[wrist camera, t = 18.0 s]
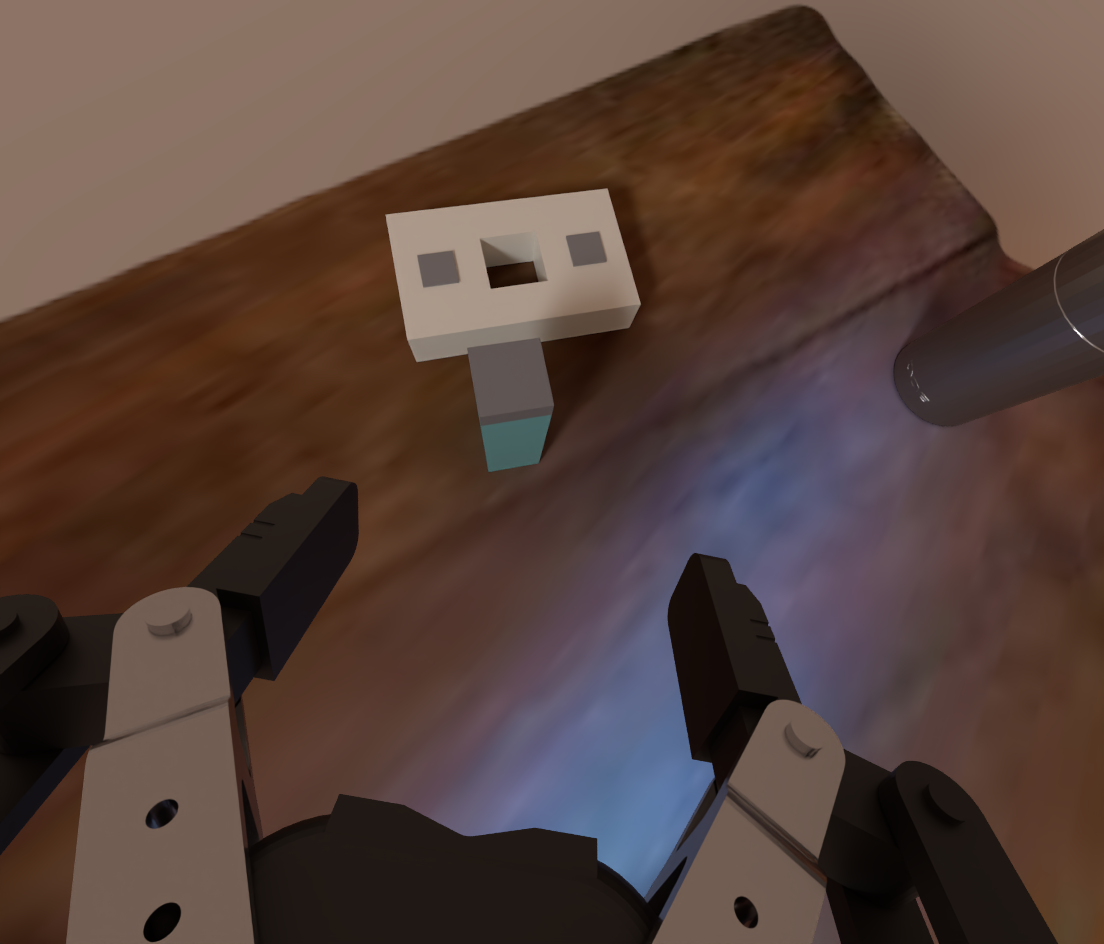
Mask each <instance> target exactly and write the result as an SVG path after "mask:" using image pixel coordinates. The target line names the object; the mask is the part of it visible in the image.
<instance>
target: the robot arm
mask: <svg viewBox="0 0 1104 944" xmlns="http://www.w3.org/2000/svg"><path fill="white" fill-rule="evenodd" d="M1102 375H1104V229H1103V230H1102V231H1100V232H1098V233H1096V234H1095V235H1093V236H1091V237H1090V238H1088V239H1086V240H1085V241H1083V242H1081V243H1080V244H1078V245H1076V246H1074V247H1073V248H1071V249H1070V250H1068V251H1066V252H1065V253H1063V254H1061V255H1060V256H1058V257H1057V258H1055V259H1053V260H1051V261H1049V262H1048V263H1046V264H1044V265H1043V266H1041V267H1039V268H1037V269H1036V270H1034V271H1032V272H1031V273H1029V274H1027V275H1026V276H1024V277H1022V278H1021V279H1019V280H1017V281H1015V282H1014V283H1012V284H1010V285H1009V286H1007V287H1005V288H1004V289H1002V290H1000V291H998V292H997V293H995V294H993V295H992V296H990V297H988V298H987V299H985V300H983V301H981V302H980V303H978V304H976V305H975V306H973V307H971V308H970V309H968V310H966V311H964V312H963V313H961V314H959V315H958V316H956V317H954V318H953V319H951V320H949V321H947V322H946V323H944V324H942V325H940V326H939V327H937V328H935V329H934V330H932V331H930V332H929V333H927V334H925V335H923V336H922V337H920V338H918V339H917V340H915V341H913V342H912V343H910V344H909V345H907V346H906V347H905V348H903V350H902V351H901V352H900V353H899V355H898V357H897V359H896V362H895V367H894V380H895V384H896V387H897V390H898V392H899V394H900V396H901V398H902V400H903V401H904V403H905V404H906V405H907V407H908V408H909V409H910V410H912V411H913V412H914V413H915V414H916V415H917V416H919V417H920V418H922V419H923V420H925V421H928V422H930V423H932V424H935V425H940V426H956V425H960V424H963V423H966V422H969V421H972V420H975V419H978V418H981V417H984V416H986V415H989V414H992V413H995V412H998V411H1001V410H1004V409H1007V408H1010V407H1013V406H1016V405H1019V404H1021V403H1024V402H1027V401H1030V400H1033V399H1036V398H1039V397H1041V396H1044V395H1047V394H1050V393H1053V392H1056V391H1059V390H1061V389H1064V388H1067V387H1070V386H1073V385H1076V384H1079V383H1082V382H1084V381H1087V380H1090V379H1093V378H1096V377H1099V376H1102ZM358 534H359V530H358V489H357V485H356V484H355V483H353V482H348V481H343V480H338V479H333V478H328V477H323V476H322V477H319V478H318V479H317V480H316V481H315V482H314V483H313V484H312V485H311V486H310V487H309V488H308V489H307V490H306V491H305V492H304V494H303V495H300V494H295V493H291V494H289V495H287V496H285V497H283V498H281V499H279V500H277V501H275V502H273V503H271V504H269V505H268V506H267V507H266V508H265V509H264V510H263V511H262V512H261V513H260V514H259V515H258V516H257V517H256V518H255V519H254V522H253V523H250V524H249V525H248V526H247V527H246V528H245V529H244V530H243V531H242V532H241V535H240V536H237V537H236V538H235V539H234V540H233V541H232V542H231V543H230V544H229V545H228V546H227V547H226V548H225V549H224V550H223V551H222V552H221V553H220V554H219V555H218V556H217V557H216V558H215V559H214V560H213V561H212V562H211V563H210V564H209V565H208V566H207V567H206V568H205V569H204V570H203V571H202V572H201V573H200V574H199V575H198V576H197V577H196V578H195V579H194V580H193V581H192V582H191V583H190V584H189V585H188V586H187V587H181V588H174V589H168V590H165V591H161V592H158V593H155V594H153V595H150V596H148V597H146V598H144V599H142V600H141V601H139V602H137V603H136V604H134V605H133V606H132V607H130V608H129V609H128V610H127V611H126V612H125V613H120V614H106V615H92V616H77V617H62V616H61V614H60V612H59V610H58V608H57V606H56V604H55V603H54V602H53V601H52V600H50V599H48V598H46V597H43V596H39V595H29V594H25V595H12V596H6V597H1V598H0V855H1V854H2V852H3V851H4V850H5V849H6V848H7V846H8V845H9V844H10V843H11V842H12V840H13V839H14V838H15V837H16V835H17V834H18V833H19V832H20V831H21V829H22V828H23V827H24V826H25V824H26V823H27V822H28V821H29V820H30V818H31V817H32V816H33V815H34V813H35V812H36V811H37V810H38V809H39V807H40V806H41V805H42V804H43V802H44V801H45V800H46V799H47V798H48V796H49V795H50V794H51V793H52V792H53V790H54V789H55V788H56V787H57V785H58V784H59V783H60V782H61V781H62V779H63V778H64V777H65V776H66V774H67V773H68V772H69V771H70V770H71V768H72V767H73V766H74V765H75V763H76V762H77V761H78V760H79V759H80V757H81V756H82V755H83V754H84V752H85V751H86V750H87V749H88V748H89V746H90V745H92V747H91V748H90V750H89V753H88V756H87V760H86V766H85V774H84V783H83V793H82V802H81V811H80V820H79V829H78V839H77V848H76V857H75V866H74V875H73V885H72V894H71V903H70V912H69V921H68V930H67V940H66V944H812V941H813V937H814V934H815V930H816V926H817V922H818V918H819V915H820V911H821V907H822V903H823V899H824V895H825V891H826V893H827V896H828V900H829V903H830V907H831V910H832V914H833V917H834V920H835V924H836V927H837V931H838V934H839V938H840V941H841V944H934V942H933V940H932V938H931V935H930V933H929V930H928V928H927V926H926V923H925V921H924V918H923V916H922V913H921V911H920V909H919V906H918V904H917V901H916V899H915V898H917V897H920V899H921V901H922V904H923V906H924V909H925V911H926V913H927V916H928V918H929V920H930V923H931V925H932V928H933V930H934V932H935V935H936V937H937V939H938V942H939V944H1058V943H1057V941H1056V939H1055V938H1054V936H1053V934H1052V932H1051V931H1050V929H1049V927H1048V926H1047V924H1046V922H1045V920H1044V919H1043V917H1042V915H1041V913H1040V912H1039V910H1038V908H1037V907H1036V905H1035V903H1034V901H1033V900H1032V898H1031V896H1030V894H1029V893H1028V891H1027V889H1026V888H1025V886H1024V884H1023V882H1022V881H1021V879H1020V877H1019V875H1018V874H1017V872H1016V870H1015V869H1014V867H1013V865H1012V863H1011V862H1010V860H1009V858H1008V856H1007V855H1006V853H1005V851H1004V850H1003V848H1002V846H1001V844H1000V843H999V841H998V839H997V837H996V836H995V834H994V832H993V831H992V829H991V827H990V825H989V824H988V822H987V820H986V818H985V817H984V815H983V813H982V812H981V810H980V809H979V807H978V806H977V805H976V803H975V802H974V801H973V799H972V798H971V797H970V796H969V795H968V794H967V793H966V792H965V791H964V790H963V789H962V788H961V787H960V786H959V785H958V784H957V783H956V782H955V781H953V780H952V779H951V778H950V777H948V776H947V775H945V774H944V773H943V772H941V771H939V770H938V769H936V768H934V767H932V766H930V765H927V764H925V763H922V762H917V761H906V762H903V763H902V764H900V765H899V766H898V767H897V768H896V769H895V770H894V771H892V772H890V771H887V770H885V769H883V768H881V767H879V766H877V765H875V764H873V763H871V762H869V761H867V760H865V759H863V758H861V757H859V756H857V755H855V754H853V753H851V752H849V751H847V750H845V749H843V747H842V745H841V742H840V741H839V739H838V737H837V735H836V734H835V732H834V731H833V730H832V728H831V727H830V726H829V725H828V724H827V723H826V722H825V721H824V720H823V719H822V718H821V717H820V716H819V715H818V714H816V713H815V712H814V711H812V710H811V709H809V708H808V707H806V706H804V705H802V703H801V701H800V698H799V696H798V694H797V691H796V689H795V686H794V684H793V681H792V679H791V676H790V674H789V672H788V669H787V667H786V664H785V662H784V659H783V657H782V654H781V652H780V649H779V647H778V645H777V643H775V637H774V635H773V632H772V630H771V627H770V626H768V623H769V622H768V620H767V618H766V615H765V613H764V610H763V608H762V605H761V603H760V602H759V601H758V600H757V598H756V597H755V596H754V595H753V594H752V592H751V591H750V590H749V589H748V588H747V586H746V585H743V584H738V583H736V580H735V577H734V575H733V572H732V569H731V566H730V564H729V562H728V561H727V560H726V559H723V558H718V557H713V556H708V555H703V554H698V553H694V554H692V555H691V557H690V558H689V560H688V562H687V565H686V567H685V569H684V571H683V573H682V575H681V577H680V579H679V582H678V584H677V586H676V588H675V590H674V592H673V594H672V597H671V599H670V603H669V608H668V626H669V632H670V637H671V643H672V649H673V654H674V660H675V665H676V671H677V677H678V682H679V688H680V693H681V699H682V705H683V710H684V716H685V722H686V727H687V733H688V738H689V744H690V750H691V755H692V759H694V760H699V761H705V762H710V763H712V765H713V770H714V775H715V777H714V778H713V780H712V781H711V783H710V784H709V786H708V788H707V789H706V791H705V793H704V795H703V797H702V799H701V800H700V802H699V804H698V806H697V808H696V810H695V811H694V813H693V815H692V817H691V819H690V820H689V822H688V824H687V826H686V828H685V830H684V831H683V833H682V835H681V837H680V839H679V841H678V842H677V844H676V846H675V848H674V850H673V851H672V853H671V855H670V857H669V859H668V860H667V862H666V864H665V865H664V867H663V868H662V870H661V872H660V873H659V875H658V876H657V878H656V879H655V881H654V882H653V884H652V885H651V887H650V889H649V890H648V892H647V894H646V895H645V897H644V898H643V897H642V896H641V895H640V894H639V893H638V891H637V890H636V889H635V888H634V887H633V886H632V885H631V884H630V883H629V882H628V881H626V880H625V879H624V878H623V877H622V876H621V875H620V874H618V873H617V872H616V871H614V870H613V869H611V868H610V867H608V866H607V865H606V864H604V863H602V862H600V861H598V860H597V838H591V837H585V836H580V835H574V834H568V833H562V832H557V831H551V830H545V829H539V828H530V829H522V830H515V831H508V832H501V833H494V834H486V835H479V836H463V835H461V834H459V833H457V832H455V831H453V830H451V829H449V828H447V827H445V826H443V825H441V824H439V823H437V822H435V821H434V820H432V819H430V818H428V817H426V816H424V815H422V814H420V813H418V812H416V811H414V810H412V809H411V808H409V807H407V806H405V805H401V804H395V803H389V802H383V801H378V800H372V799H366V798H360V797H354V796H349V795H343V794H339V796H338V799H337V801H336V803H335V806H334V808H333V811H332V813H331V814H329V815H322V816H317V817H314V818H310V819H306V820H302V821H300V822H297V823H295V824H292V825H290V826H287V827H284V828H282V829H280V830H278V831H277V832H275V833H273V834H271V835H269V836H267V837H265V838H263V832H262V826H261V820H260V814H259V809H258V804H257V799H256V793H255V786H254V779H253V772H252V764H251V757H250V750H249V742H248V735H247V727H246V720H245V712H244V705H243V699H242V693H243V692H244V691H245V689H246V688H247V686H248V685H249V683H250V682H251V680H252V679H253V677H255V678H261V679H266V680H272V681H275V679H276V677H277V676H278V674H279V673H280V671H281V670H282V668H283V666H284V665H285V663H286V662H287V660H288V659H289V657H290V655H291V654H292V652H293V651H294V649H295V648H296V646H297V644H298V643H299V641H300V640H301V638H302V637H303V635H304V633H305V632H306V630H307V629H308V627H309V626H310V624H311V622H312V621H313V619H314V618H315V616H316V615H317V613H318V611H319V610H320V608H321V607H322V605H323V604H324V602H325V600H326V599H327V597H328V596H329V594H330V593H331V591H332V589H333V588H334V586H335V585H336V583H337V581H338V580H339V578H340V577H341V575H342V574H343V572H344V570H345V569H346V567H347V566H348V564H349V563H350V561H351V559H352V557H353V555H354V553H355V550H356V546H357V542H358Z"/></svg>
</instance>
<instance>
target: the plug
mask: <svg viewBox="0 0 1104 944" xmlns="http://www.w3.org/2000/svg"><path fill="white" fill-rule="evenodd" d="M467 351H468V356H469V362H470V368H471V374H472V380H473V385H474V391H475V397H476V403H477V409H478V414H479V420H480V426H481V432H482V437H483V443H484V449H485V454H486V460H487V465H488V471H489V472H491V471H497V470H502V469H508V468H514V467H520V466H525V465H531V464H537V463H539V461H540V457H541V453H542V449H543V446H544V442H545V438H546V434H547V430H548V427H549V423H550V419H551V415H552V412H553V408H554V402H553V398H552V393H551V388H550V383H549V379H548V374H547V369H546V365H545V360H544V355H543V351H542V346H541V341H540V338H534V339H527V340H519V341H512V342H505V343H498V344H491V345H483V346H476V347H469V348H467Z"/></svg>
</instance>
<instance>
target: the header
mask: <svg viewBox="0 0 1104 944" xmlns="http://www.w3.org/2000/svg"><path fill="white" fill-rule="evenodd" d="M386 220H387V225H388V231H389V237H390V243H391V248H392V254H393V260H394V265H395V271H396V277H397V282H398V288H399V294H400V300H401V305H402V311H403V317H404V322H405V328H406V334H407V339H408V342H409V345H410V347H411V349H412V352H413V354H414V357H415V359H416V362H420V361H426V360H432V359H439V358H445V357H451V356H457V355H464V354H468V351H467V348H469V347H476V346H483V345H491V344H498V343H505V342H512V341H519V340H527V339H534V338H540V341H541V342H544V341H551V340H557V339H563V338H569V337H576V336H582V335H588V334H594V333H600V332H607V331H613V330H619V329H625V328H629V327H630V325H631V323H632V321H633V319H634V317H635V315H636V313H637V311H638V309H639V307H640V305H641V303H640V300H639V296H638V293H637V289H636V286H635V282H634V279H633V276H632V272H631V269H630V265H629V262H628V258H627V255H626V251H625V248H624V244H623V241H622V237H621V234H620V231H619V227H618V224H617V220H616V217H615V213H614V210H613V206H612V203H611V199H610V196H609V192H608V189H599V190H591V191H582V192H574V193H565V194H557V195H548V196H540V197H531V198H523V199H514V200H506V201H498V202H489V203H481V204H472V205H464V206H455V207H447V208H438V209H430V210H421V211H413V212H404V213H396V214H388V215H386ZM529 261H534V266H535V270H536V274H537V278H538V282H536V283H529V284H522V285H515V286H508V287H501V288H494V289H491V288H490V284H489V279H488V275H487V270H486V267H492V266H500V265H507V264H514V263H522V262H529Z"/></svg>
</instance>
